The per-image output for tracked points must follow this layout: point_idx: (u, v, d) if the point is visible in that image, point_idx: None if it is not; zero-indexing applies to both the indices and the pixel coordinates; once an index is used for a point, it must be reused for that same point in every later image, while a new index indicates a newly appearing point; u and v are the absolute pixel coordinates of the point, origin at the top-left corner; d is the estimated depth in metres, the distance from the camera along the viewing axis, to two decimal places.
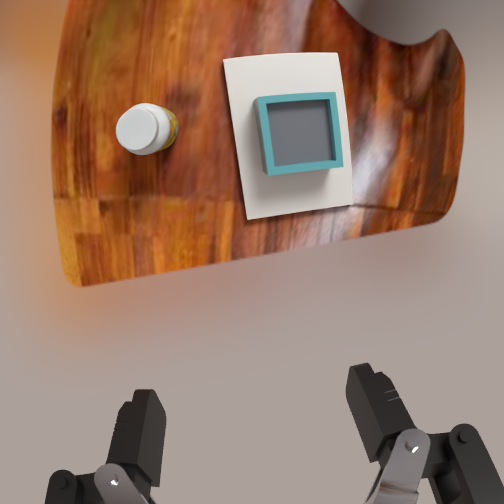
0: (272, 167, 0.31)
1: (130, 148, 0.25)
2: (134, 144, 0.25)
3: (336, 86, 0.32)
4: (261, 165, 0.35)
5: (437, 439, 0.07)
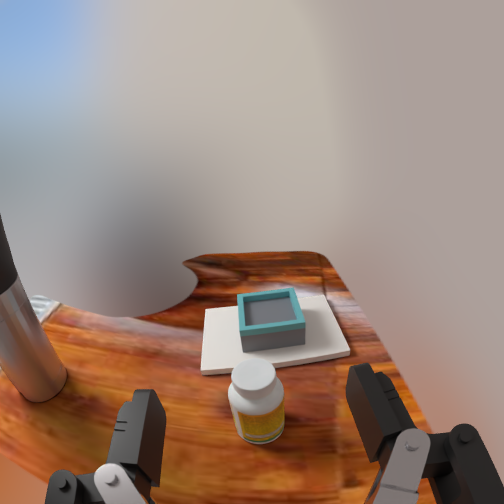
0: (298, 320, 0.39)
1: (272, 377, 0.25)
2: (269, 374, 0.25)
3: (233, 309, 0.49)
4: (300, 345, 0.40)
5: (437, 439, 0.07)
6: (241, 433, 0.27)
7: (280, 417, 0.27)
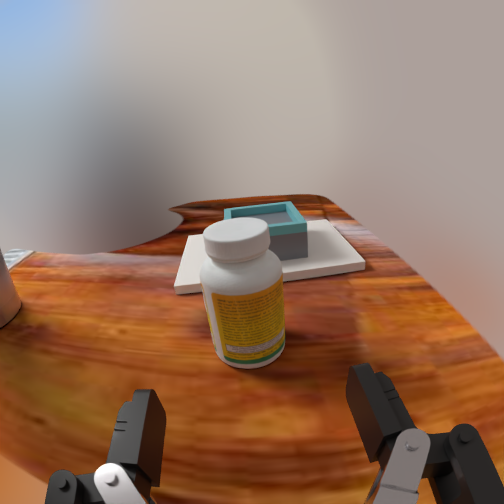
0: (297, 221, 0.32)
1: (264, 228, 0.18)
2: (259, 227, 0.18)
3: None
4: (301, 258, 0.33)
5: (437, 439, 0.07)
6: (220, 349, 0.20)
7: (278, 314, 0.19)
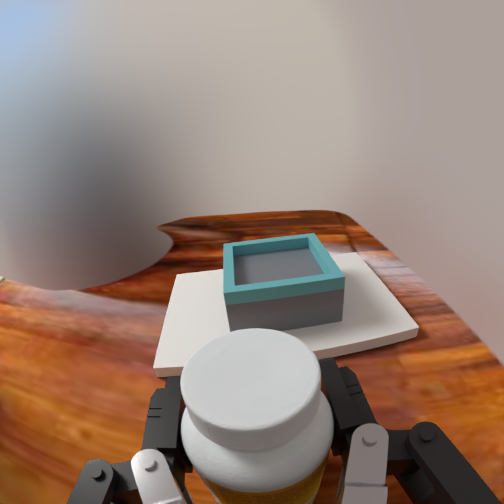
0: (331, 274, 0.21)
1: (313, 383, 0.07)
2: (301, 374, 0.08)
3: (218, 273, 0.32)
4: (333, 323, 0.22)
5: (398, 436, 0.08)
6: None
7: (319, 479, 0.09)
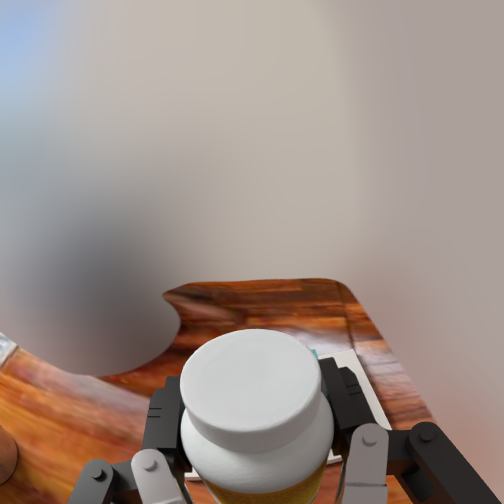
0: None
1: (314, 384, 0.07)
2: (301, 375, 0.08)
3: None
4: None
5: (398, 436, 0.08)
6: None
7: (319, 480, 0.09)
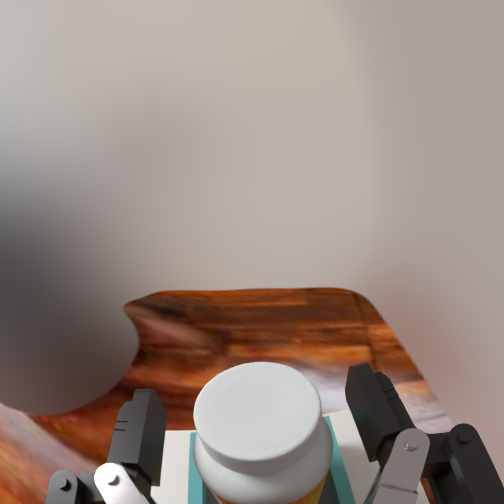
0: None
1: (314, 416, 0.08)
2: (304, 408, 0.08)
3: None
4: None
5: (436, 439, 0.07)
6: None
7: (319, 492, 0.09)
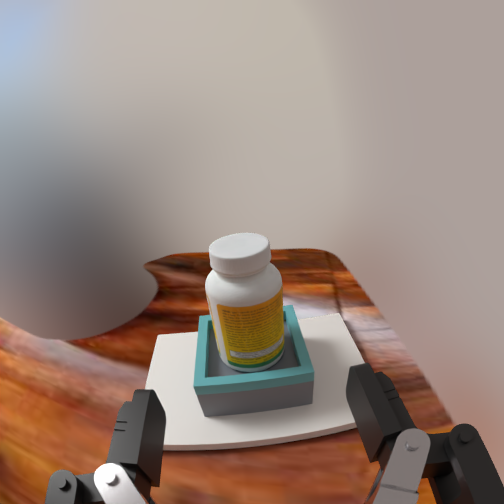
0: (301, 368, 0.20)
1: (265, 245, 0.19)
2: (260, 244, 0.20)
3: (198, 336, 0.31)
4: (303, 406, 0.21)
5: (437, 439, 0.07)
6: (224, 354, 0.22)
7: (278, 323, 0.21)
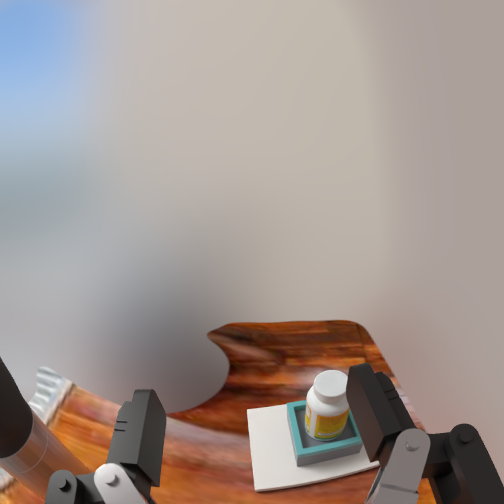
0: (357, 437, 0.31)
1: None
2: (345, 382, 0.30)
3: (278, 410, 0.41)
4: (354, 454, 0.32)
5: (437, 439, 0.07)
6: (313, 433, 0.32)
7: (347, 416, 0.31)
